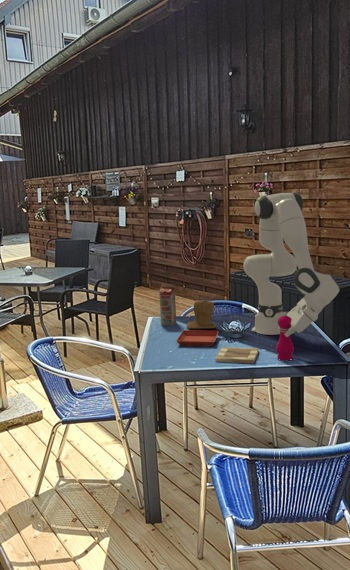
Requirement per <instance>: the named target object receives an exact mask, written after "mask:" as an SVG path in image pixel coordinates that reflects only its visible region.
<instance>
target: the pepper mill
mask: <svg viewBox="0 0 350 570" xmlns="http://www.w3.org/2000/svg"><path fill="white" fill-rule="evenodd" d="M287 313H288V312H286V311H285V312H283V316H281V317H280V318H279V319H278V325H279V326H280V327H279V331H280V334H279V339H278V342H277V343H276V347H275V348H276V349H275V350H276V352H277V353H278V354H277V360H278V359H280V360H279V361H281V360H290V359H292V360H293V358H294V355H293V352H294V351H295V346H294V343H293V342H292V339H291V335H289V336H288V337H286V336H285V335H284V333H285V332H286V331H288V330H289V329H290V328H291V327H292V326H291V324H290V322H291V320H292V319H291V318H290V317H289V316H287Z"/></svg>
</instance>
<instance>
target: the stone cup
mask: <svg viewBox="0 0 350 570" xmlns="http://www.w3.org/2000/svg"><path fill="white" fill-rule="evenodd" d="M214 309H215V304H214V302H213V301H211V300H197V299H196V300H195V301H194V304H193V313H194V316H195V317H194V318H195V320H193V321H189V322H187V324H186V329H187V330H209V329H215V328H216V327H217V325H216V323H214V322H212V318H213V315H214V314H213V313H214Z"/></svg>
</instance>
